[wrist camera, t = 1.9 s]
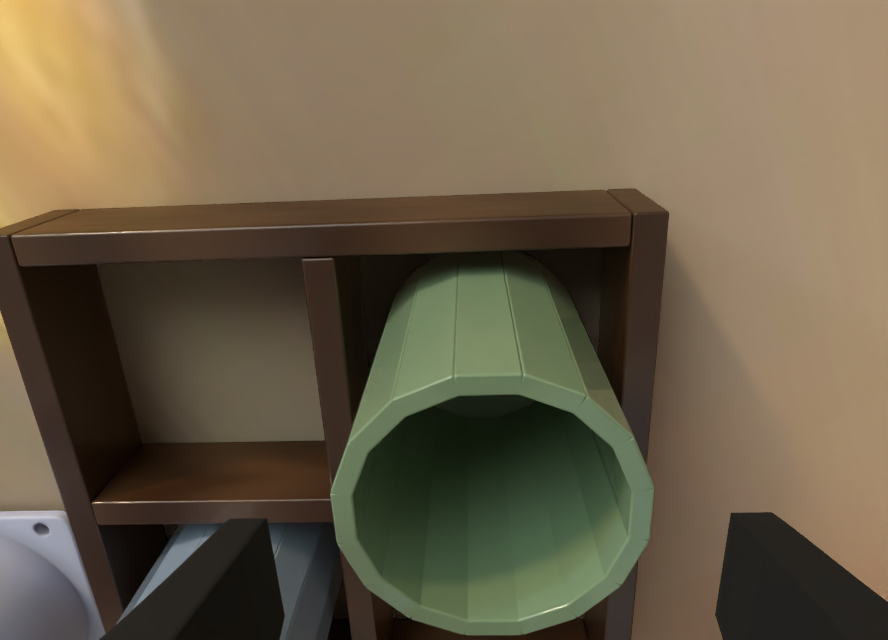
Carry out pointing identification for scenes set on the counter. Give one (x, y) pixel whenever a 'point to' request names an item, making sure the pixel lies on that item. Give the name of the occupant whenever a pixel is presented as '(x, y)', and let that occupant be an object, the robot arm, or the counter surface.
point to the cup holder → (335, 353)
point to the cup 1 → (298, 569)
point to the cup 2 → (489, 455)
